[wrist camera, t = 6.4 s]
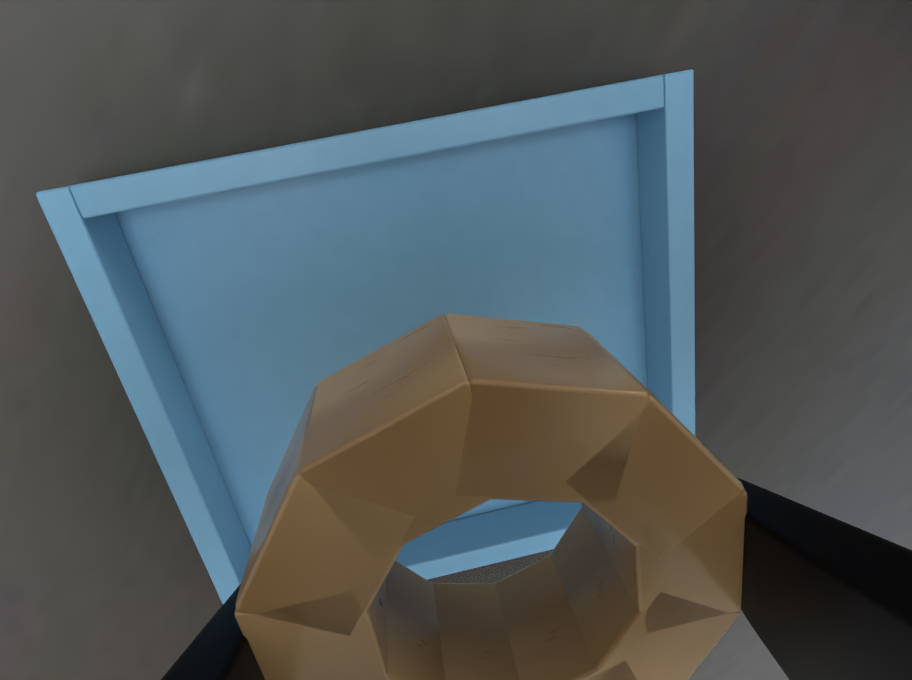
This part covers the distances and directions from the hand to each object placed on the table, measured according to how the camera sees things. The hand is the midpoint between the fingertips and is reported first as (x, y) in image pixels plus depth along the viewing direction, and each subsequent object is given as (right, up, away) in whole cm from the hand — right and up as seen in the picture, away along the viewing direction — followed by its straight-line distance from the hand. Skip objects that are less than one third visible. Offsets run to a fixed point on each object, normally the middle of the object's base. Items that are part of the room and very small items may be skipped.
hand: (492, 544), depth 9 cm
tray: (-2, +3, +10) cm, 10 cm away
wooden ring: (0, 0, +1) cm, 1 cm away
